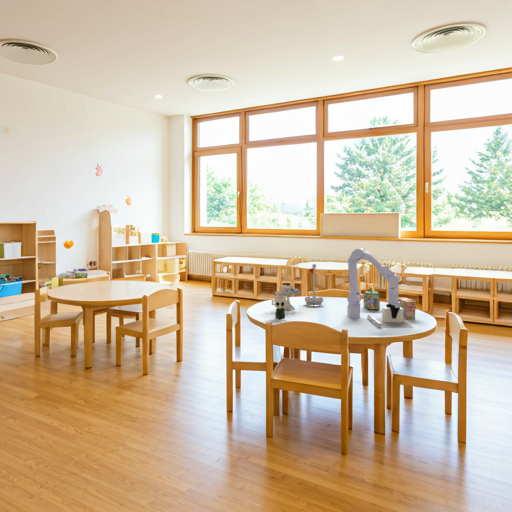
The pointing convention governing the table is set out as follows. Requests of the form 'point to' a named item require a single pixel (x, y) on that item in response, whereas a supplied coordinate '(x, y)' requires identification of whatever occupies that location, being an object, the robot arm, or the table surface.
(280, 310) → the character mug
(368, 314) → the price rail
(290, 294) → the tree
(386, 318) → the cream carton
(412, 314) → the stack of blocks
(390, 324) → the shelf deck
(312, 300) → the flag stand
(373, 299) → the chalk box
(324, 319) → the table surface
